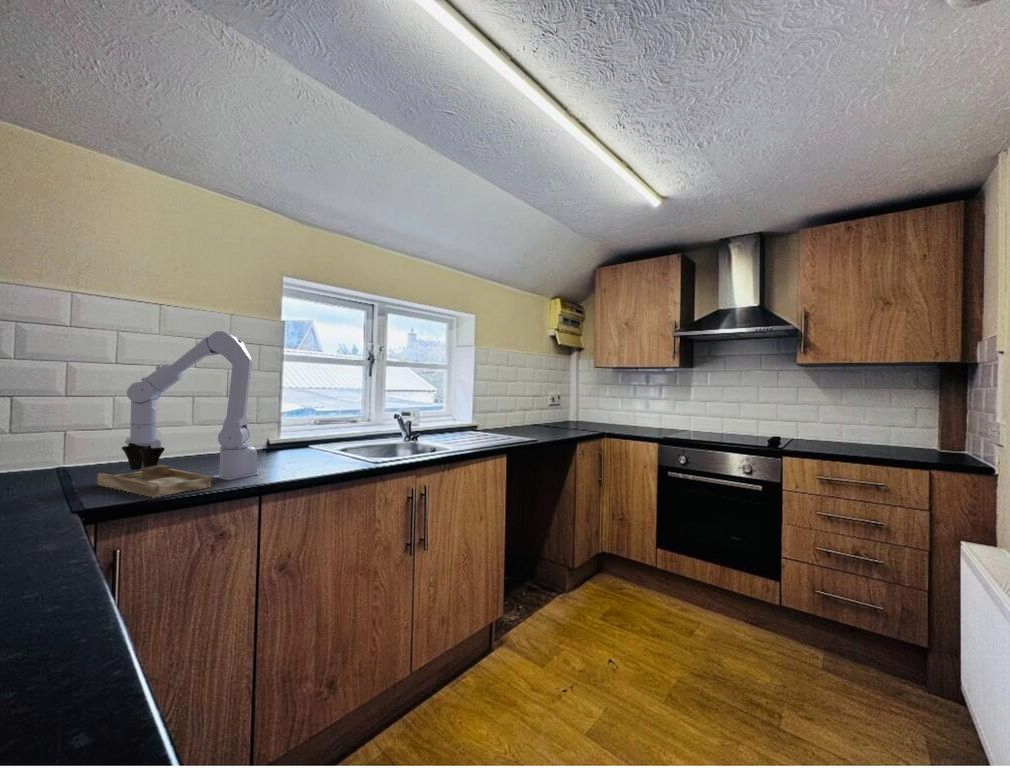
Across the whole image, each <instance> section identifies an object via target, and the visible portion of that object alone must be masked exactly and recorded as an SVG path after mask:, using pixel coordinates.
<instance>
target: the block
mask: <svg viewBox="0 0 1010 768" xmlns="http://www.w3.org/2000/svg"><path fill="white" fill-rule="evenodd" d="M170 467H171V466H169V465H164V464H157V465H155V466H148V467H144V466H142V467H141V471H142V478H144V479H149V480H153V479H159V478H165V477H169V468H170Z"/></svg>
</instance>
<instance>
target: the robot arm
mask: <svg viewBox="0 0 1010 768" xmlns="http://www.w3.org/2000/svg"><path fill="white" fill-rule="evenodd" d="M218 355H221V356H223V357H224V358H225V359H226V360H227V361H228V362H229V363H230V364H231V375H230V383H229V394H228V401H227V408H226V409H227V410H226V411H227V412H226V417H225V419H224V422H223V424H222V429H221V430H220V432H219V433H218V436H217V440H218V443H219V444H220V447H219V448H220V449H219V474H216V475H212V477H213V478H214V479H219V480H226V481H231V480H232V481H233V480H238V479H243V478H248V477H253V476H258V475H259V472H258V452H257V449H256V447H254V446H253V445H249V444H248V443H247V441H248V440H249V439H250V430H249V427H248V419H247V409H248V401H249V392H250V384H251V383H250V381H251V374H252V365H253V359H252V357H251V355H250V354H249V352H248V350H247V348H246V347H245V343H244V342H243V341H242V340H241V339H239V338H238V337H237V336H236V335H234V334H229V333H227V332H225V331H221V330H220V331H219V330H218V331H214V332H212V333H211V334H210V335H209V336H206V337H205V338H202V340H201V341H200V342H199V343H197V344H196V345H195V346H193V347H192V348H191V349H190V350H189V351H187V352H186V353H185V354H183V355H182V356H181V357H180V358H179V359H177V360H175V362H173V363H172V364H169V363H168V364H167V363H166V364H163V365H157V366H156V367H155V369H156V370H154V371H153V372H152V373H150V374H149V375H148V376H143V377H142V378H141V379H140V380H141V381H137V382H133V383H131V385H130V386H129V387H128V388H127V390H126V396H127V398H128V399H129V400H130V428H129V429H130V433H129V434H130V436H129V437H126V440H124V443H125V444H126V445H125V446H122V447H121V450H122V451H123V452H124V454H125V456H126V458H127V460H128V464H129V468H130V470H131V471H138V470H142V467H148V466H155V465H158V463H159V459H160V458H161V455H162V454H163V452H164V451H165V447H163V446H162V441H161V440H160V439H158V438H157V412H158V411H157V401H158V400H159V399H160V398H161V396H162V393H164V392H165V391H166V390H168V389H169V388H170V387H172V386H173V385H175V384H176V383H178V382H179V381H180V380H181V379H182V375H183V372H185V371H186V370H187V369H189V368H191V367H192V366H194V365H195V364H197V363H199V361H202V360H203V359H204V358H206V357H210V356H218Z"/></svg>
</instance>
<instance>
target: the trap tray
mask: <svg viewBox="0 0 1010 768" xmlns="http://www.w3.org/2000/svg"><path fill="white" fill-rule="evenodd" d="M96 483H97V486H100V487H103V488H104V487H105V488H108V487H109V488H108V489H112V488H114V489H113V490H116V489H118V490H117V491H120V490H123V491H122V492H124V491H127V492H126V493H128V492H132V493H136V494H141V495H146V496H152V497H154V496H162V495H167V494H173V493H179V492H184V491H189V492H192V491H191V490H194V491H197V490H196V489H199V490H203V488H204V489H209V488H211V487H212V476H211V475H208V474H202V473H197V472H193V471H192V472H191V471H186V470H181V469H175V468H170V467H169V477H165V478H159V479H153V480H149V479H144V478H142V470H141V471H134V472H126V473H120V474H109V473H105V472H99V473H97V482H96ZM208 487H209V488H208ZM132 493H131V494H132ZM184 493H185V492H184ZM136 494H135V495H136ZM179 494H180V493H179ZM141 495H140V496H141Z"/></svg>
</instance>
